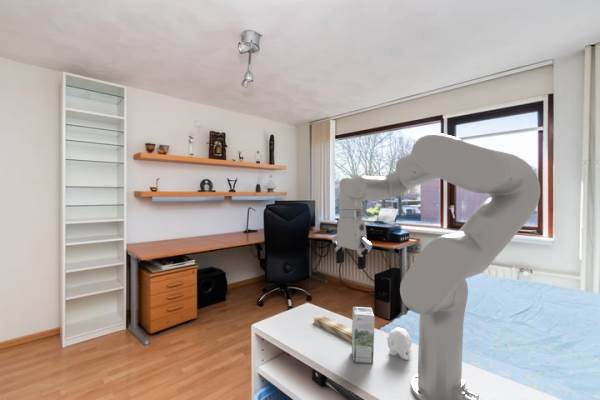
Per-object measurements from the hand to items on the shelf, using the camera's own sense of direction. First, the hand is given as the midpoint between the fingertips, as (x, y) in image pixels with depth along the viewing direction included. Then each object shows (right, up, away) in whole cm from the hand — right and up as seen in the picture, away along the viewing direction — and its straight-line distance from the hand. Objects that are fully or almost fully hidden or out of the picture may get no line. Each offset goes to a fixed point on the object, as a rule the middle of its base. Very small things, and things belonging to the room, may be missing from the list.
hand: (350, 265), depth 92 cm
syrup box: (+2, -25, -11) cm, 27 cm away
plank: (-3, -25, +4) cm, 25 cm away
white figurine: (+15, -26, -7) cm, 30 cm away
